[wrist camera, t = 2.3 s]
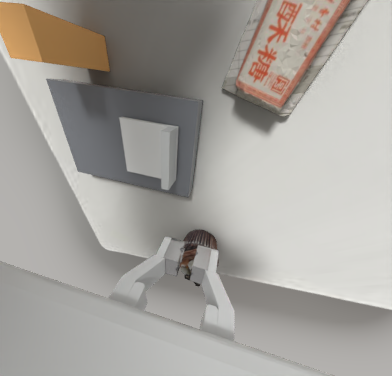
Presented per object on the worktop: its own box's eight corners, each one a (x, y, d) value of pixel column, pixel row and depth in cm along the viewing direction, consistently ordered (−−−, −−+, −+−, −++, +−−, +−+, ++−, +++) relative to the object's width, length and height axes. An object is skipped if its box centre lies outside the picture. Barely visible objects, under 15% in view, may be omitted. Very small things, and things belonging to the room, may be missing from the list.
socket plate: (64, 79, 26) (46, 78, 24) (202, 100, 23) (198, 101, 21) (89, 165, 35) (78, 171, 33) (192, 189, 32) (188, 197, 30)
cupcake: (190, 221, 37) (176, 258, 29) (227, 237, 37) (224, 279, 29) (179, 243, 43) (164, 280, 34) (211, 257, 43) (204, 298, 34)
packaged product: (294, 124, 18) (217, 88, 18) (284, 118, 22) (221, 88, 22) (535, -208, 8) (366, -293, 8) (438, -112, 12) (324, -168, 12)
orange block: (79, 33, 22) (-14, 0, 14) (104, 36, 22) (23, 3, 14) (87, 68, 25) (10, 57, 16) (110, 71, 24) (43, 62, 16)
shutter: (122, 116, 24) (106, 120, 21) (178, 126, 23) (169, 132, 20) (129, 169, 29) (117, 178, 26) (175, 179, 28) (168, 190, 25)
